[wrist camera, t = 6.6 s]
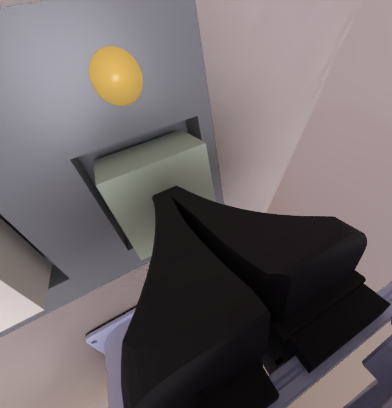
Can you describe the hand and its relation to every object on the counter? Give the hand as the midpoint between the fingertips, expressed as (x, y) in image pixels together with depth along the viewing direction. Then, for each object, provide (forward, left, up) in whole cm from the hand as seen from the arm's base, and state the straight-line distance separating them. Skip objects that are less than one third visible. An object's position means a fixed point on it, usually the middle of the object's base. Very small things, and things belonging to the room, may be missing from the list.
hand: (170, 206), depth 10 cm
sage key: (0, 0, -3) cm, 3 cm away
